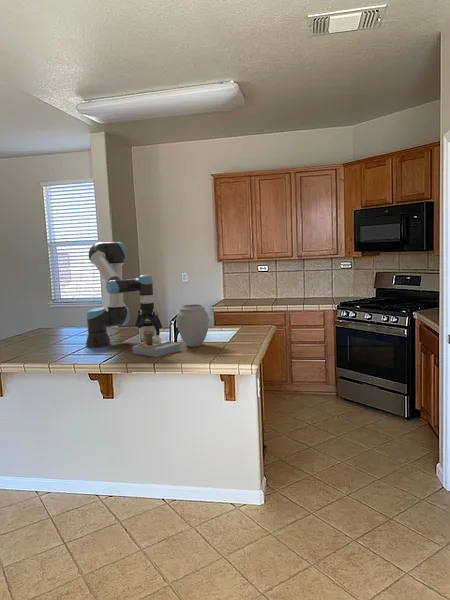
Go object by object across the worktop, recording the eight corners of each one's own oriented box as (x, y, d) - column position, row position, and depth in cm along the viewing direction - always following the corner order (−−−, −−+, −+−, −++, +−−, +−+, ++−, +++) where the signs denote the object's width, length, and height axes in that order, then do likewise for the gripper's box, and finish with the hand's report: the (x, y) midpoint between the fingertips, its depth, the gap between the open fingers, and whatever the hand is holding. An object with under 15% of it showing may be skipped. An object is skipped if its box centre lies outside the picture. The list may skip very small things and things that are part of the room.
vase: (172, 348, 271) (169, 307, 269) (186, 342, 289) (184, 303, 287) (202, 349, 264) (200, 307, 262) (215, 343, 282) (213, 303, 280)
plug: (150, 351, 267) (149, 332, 266) (157, 352, 264) (156, 332, 262) (142, 353, 263) (141, 333, 262) (149, 354, 259) (148, 334, 258)
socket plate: (132, 353, 264) (132, 344, 263) (156, 347, 278) (155, 339, 277) (156, 357, 251) (155, 348, 250) (179, 350, 265) (179, 342, 264)
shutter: (150, 343, 269) (150, 337, 268) (160, 341, 275) (160, 334, 274) (160, 344, 263) (159, 338, 263) (170, 342, 270) (169, 336, 269)
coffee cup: (153, 347, 276) (151, 323, 275) (138, 348, 278) (136, 323, 277) (159, 344, 286) (157, 320, 284) (144, 344, 288) (142, 320, 286)
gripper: (127, 302, 265) (130, 339, 267) (156, 304, 249) (159, 342, 252) (137, 301, 271) (140, 336, 273) (167, 302, 255) (169, 340, 257)
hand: (149, 339), depth 262 cm, fingers open, 13 cm apart
